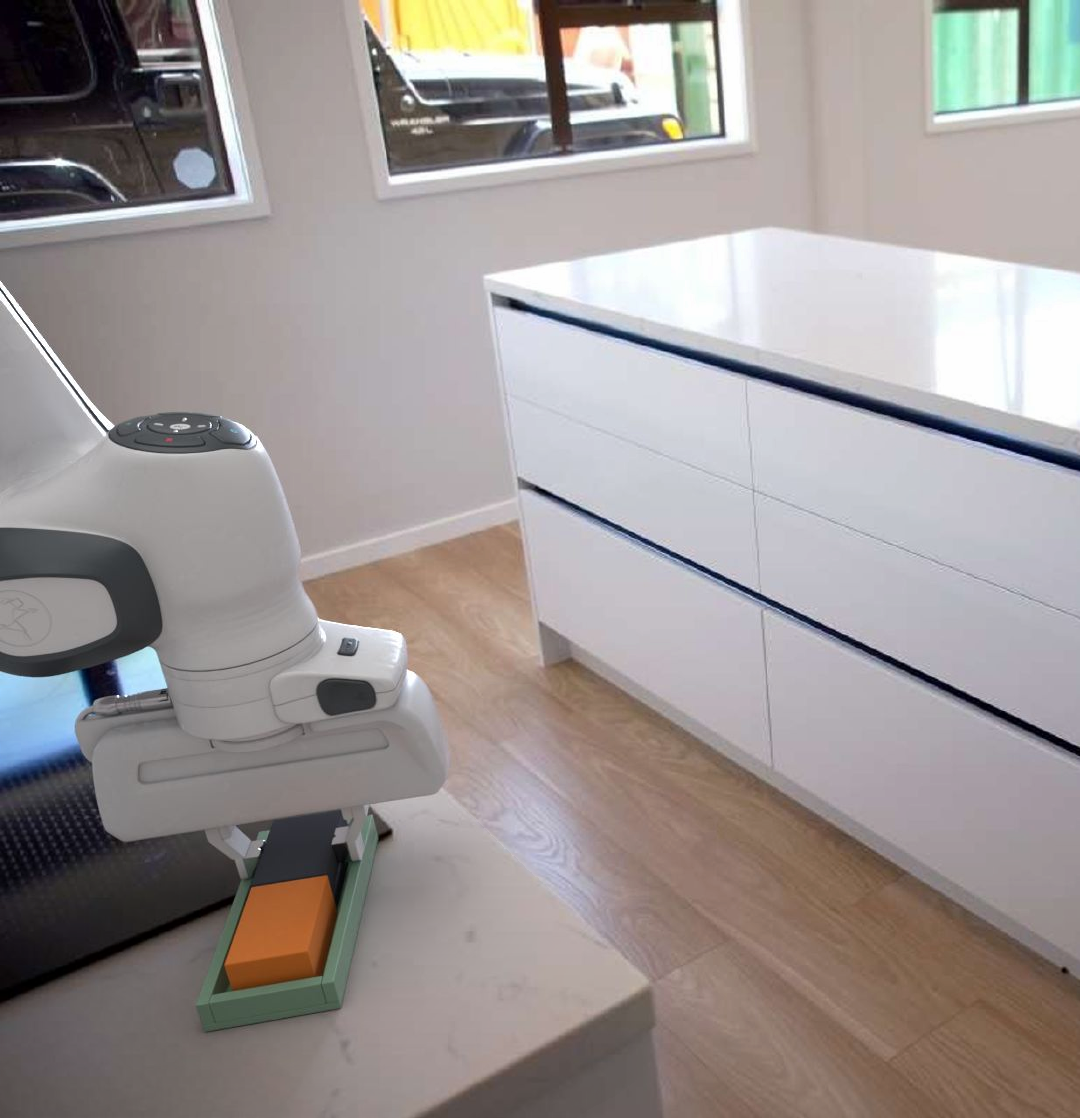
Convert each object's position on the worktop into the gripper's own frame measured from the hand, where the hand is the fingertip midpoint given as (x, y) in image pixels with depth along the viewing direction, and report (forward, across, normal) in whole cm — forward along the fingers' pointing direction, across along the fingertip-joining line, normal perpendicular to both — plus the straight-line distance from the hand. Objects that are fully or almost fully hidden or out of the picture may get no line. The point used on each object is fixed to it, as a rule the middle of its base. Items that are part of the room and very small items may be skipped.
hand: (304, 864), depth 82 cm
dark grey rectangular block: (+2, 0, 0) cm, 2 cm away
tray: (+2, 0, -4) cm, 4 cm away
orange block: (+2, 0, -7) cm, 7 cm away
